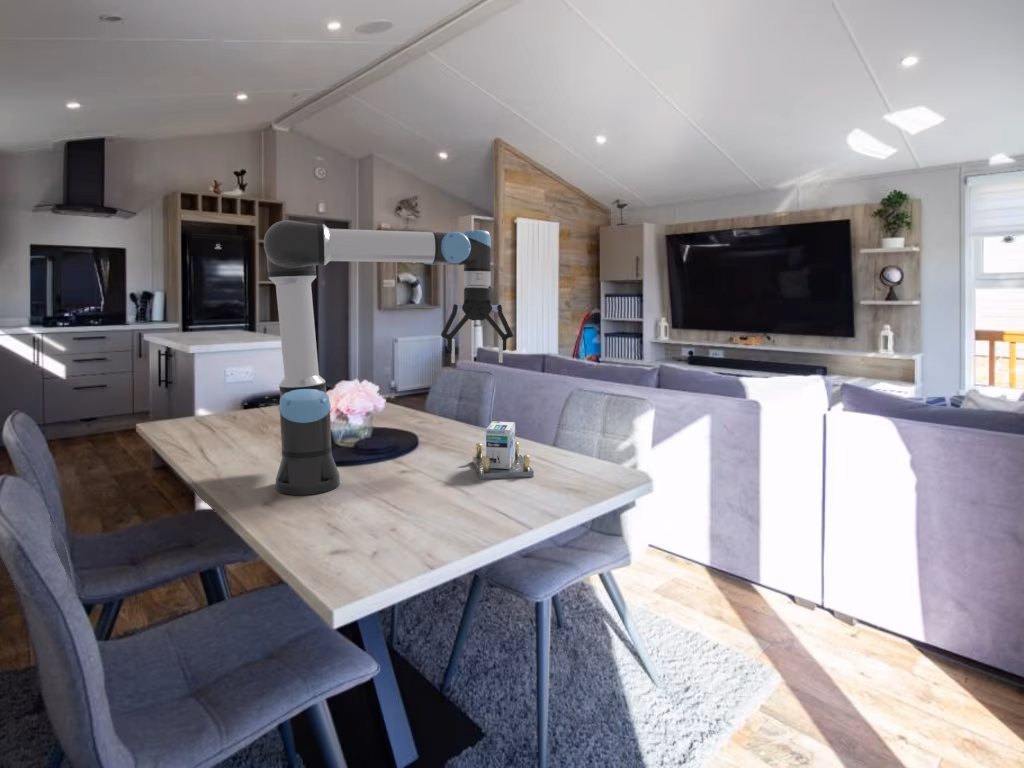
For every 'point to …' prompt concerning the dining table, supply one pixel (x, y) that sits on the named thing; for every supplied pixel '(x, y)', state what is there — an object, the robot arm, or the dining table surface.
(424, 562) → the dining table surface
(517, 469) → the chassis
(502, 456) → the light bulb box
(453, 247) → the robot arm
